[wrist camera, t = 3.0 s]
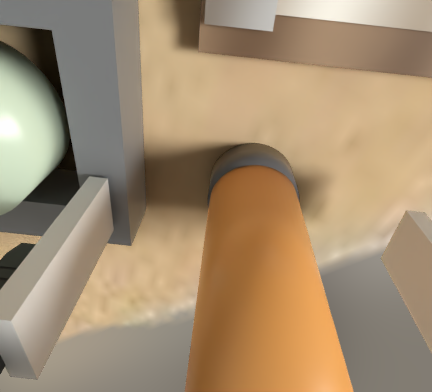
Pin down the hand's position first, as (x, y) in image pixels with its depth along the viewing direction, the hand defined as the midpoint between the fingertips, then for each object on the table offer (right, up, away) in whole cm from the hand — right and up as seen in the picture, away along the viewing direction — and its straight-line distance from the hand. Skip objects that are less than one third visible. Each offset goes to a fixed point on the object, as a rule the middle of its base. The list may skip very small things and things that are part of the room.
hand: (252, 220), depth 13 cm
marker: (0, +2, +3) cm, 3 cm away
